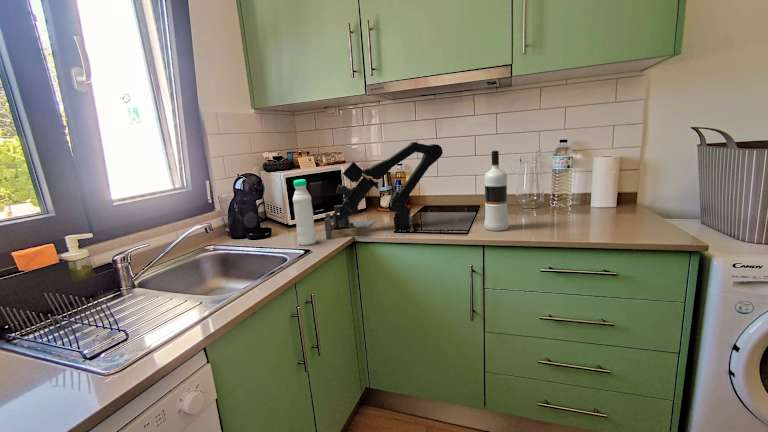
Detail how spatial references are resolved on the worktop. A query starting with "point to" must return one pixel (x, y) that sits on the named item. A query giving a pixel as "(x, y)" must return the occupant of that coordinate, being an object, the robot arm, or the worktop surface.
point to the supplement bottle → (342, 223)
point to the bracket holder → (338, 233)
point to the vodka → (496, 197)
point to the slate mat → (362, 224)
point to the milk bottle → (303, 214)
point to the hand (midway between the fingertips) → (337, 218)
